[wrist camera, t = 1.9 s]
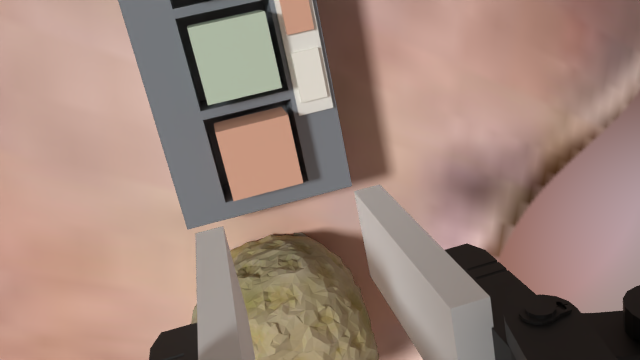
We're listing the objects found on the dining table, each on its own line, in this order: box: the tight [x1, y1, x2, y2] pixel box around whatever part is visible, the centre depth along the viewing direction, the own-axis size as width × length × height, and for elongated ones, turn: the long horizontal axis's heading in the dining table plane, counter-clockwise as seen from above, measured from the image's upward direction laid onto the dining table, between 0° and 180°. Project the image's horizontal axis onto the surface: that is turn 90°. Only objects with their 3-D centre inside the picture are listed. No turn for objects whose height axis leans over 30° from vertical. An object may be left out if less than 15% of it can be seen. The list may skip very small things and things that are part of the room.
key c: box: [214, 107, 303, 201], centre depth 27 cm, size 3×3×2 cm
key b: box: [187, 10, 282, 105], centre depth 25 cm, size 3×3×2 cm
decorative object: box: [191, 233, 379, 360], centre depth 31 cm, size 9×10×10 cm
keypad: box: [118, 0, 352, 229], centre depth 27 cm, size 14×8×4 cm, turn 12°
